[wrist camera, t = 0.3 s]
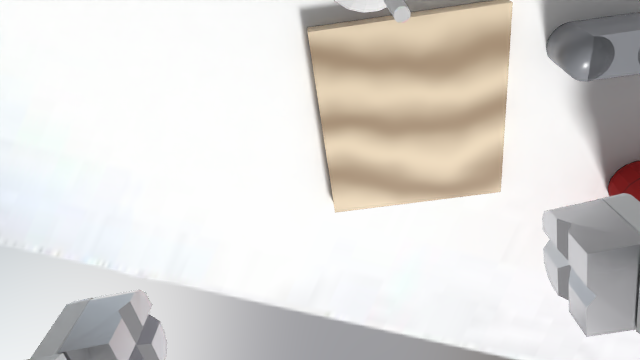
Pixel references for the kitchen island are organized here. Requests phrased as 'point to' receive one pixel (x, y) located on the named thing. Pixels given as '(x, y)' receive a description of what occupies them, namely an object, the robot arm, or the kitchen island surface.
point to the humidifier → (379, 7)
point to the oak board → (414, 104)
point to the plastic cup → (626, 181)
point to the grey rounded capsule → (597, 47)
